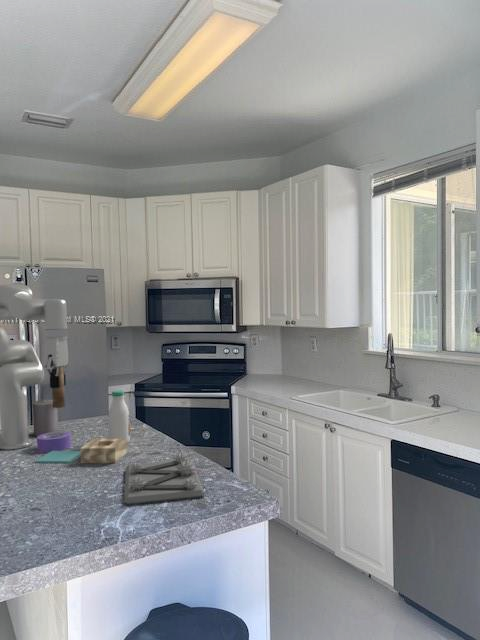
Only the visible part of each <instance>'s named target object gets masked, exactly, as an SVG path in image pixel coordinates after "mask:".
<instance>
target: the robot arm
mask: <svg viewBox="0 0 480 640" xmlns="http://www.w3.org/2000/svg"><path fill="white" fill-rule="evenodd" d="M33 295H34V294H33V291H32V289H31V288H30V287H29V286H28V285H26V284H13V283H12V284H10V283H5V284H4V283H3V284H0V321H12V320H13V321H14V320H16V319H18V320H21V321H27V322H28V321H30V322H31V321H43V325H44V327H43V329H44V343H43V364H42V362H41V360H40V358H39V355H38V353H37V351H36V349H35V348H34V345H33V344H32V343H31V342H30V341H28V340H27V339H26V340H25V339H15V340H14V339H13V340H12V339H10V338H9V336H8V333H7V332H6V329H4V328H3V327H2V326H1V325H0V425H1V426H0V430H1V431H0V432H1V434H0V450H5V451H6V450H7V451H8V450H18V449H19V450H20V449H22V448H23V449H24V448H27V447H30V446H32V445H33V444H34V440H33V438H29V436H30V435H29V413H28V398H27V396H26V394H25V392H23V390H22V389H21V388H26V387H31V386H36V385H40V384H41V383H42V382H43V381H44V380H45V370H44V368H45V369H46V371H47V372H48V376H49V386H50V389H52V388H59V387H60V380H59V376H58V368H59V367H61V366H63V369H64V387H65V386H66V385H67V382H66V381H67V380H66V373H67V371H66V369H67V366H68V364H69V348H68V347H69V346H68V340H67V339H68V316H67V314H68V313H67V311H68V310H67V302H66V300H65V299H63V298H33V297H34V296H33ZM54 369H55V370H54Z"/></svg>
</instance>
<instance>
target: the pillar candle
mask: <svg viewBox="0 0 480 640" xmlns="http://www.w3.org/2000/svg"><path fill="white" fill-rule="evenodd" d="M58 409H59V408H53V399H41V400H36V401H33V402H32V414H33V415H32V418H33V419H32V420H33V436H34V437H36V438H37V437H38V436H39V435H41V434H45V433H50V432H58V431H59V414H58V413H59V411H58Z"/></svg>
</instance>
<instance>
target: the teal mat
mask: <svg viewBox="0 0 480 640" xmlns="http://www.w3.org/2000/svg"><path fill="white" fill-rule="evenodd" d="M78 457H81V450H62V451H51V452H47V453H46V454H44V455H43V456H41V457H40V458H38V459H37V460H35V463H36V464H70V463H71V462H73V461H74V460H75V459H77V458H78Z"/></svg>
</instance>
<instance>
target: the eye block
mask: <svg viewBox="0 0 480 640" xmlns="http://www.w3.org/2000/svg"><path fill="white" fill-rule="evenodd" d="M127 444H128V443H126V439H109V438H93V439H91V440H90V441H88V442H87V443H86V444H85V445H83V446H81V448H80V451H81V455H80V464H116V463H118V461H119V460H120V459H122V458H123V457H124V456H125V455H126V454H127V453H128V446H127Z"/></svg>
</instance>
